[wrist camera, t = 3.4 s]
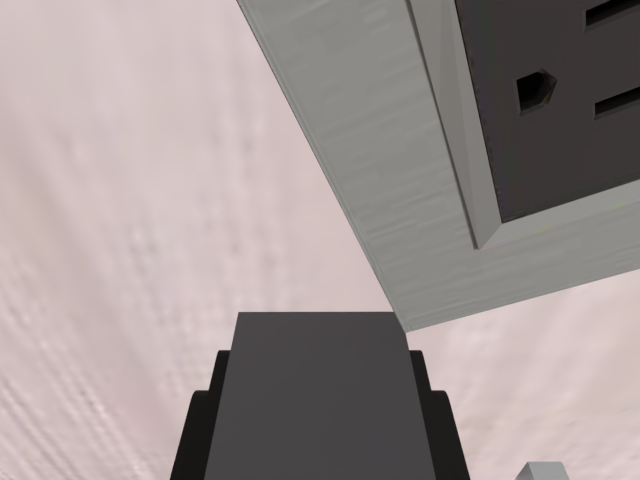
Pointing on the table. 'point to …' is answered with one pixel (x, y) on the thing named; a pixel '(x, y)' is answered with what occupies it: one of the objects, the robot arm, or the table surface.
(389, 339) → the grey cube mallet
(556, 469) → the four peg comb
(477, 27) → the electrical outlet
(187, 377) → the table surface
